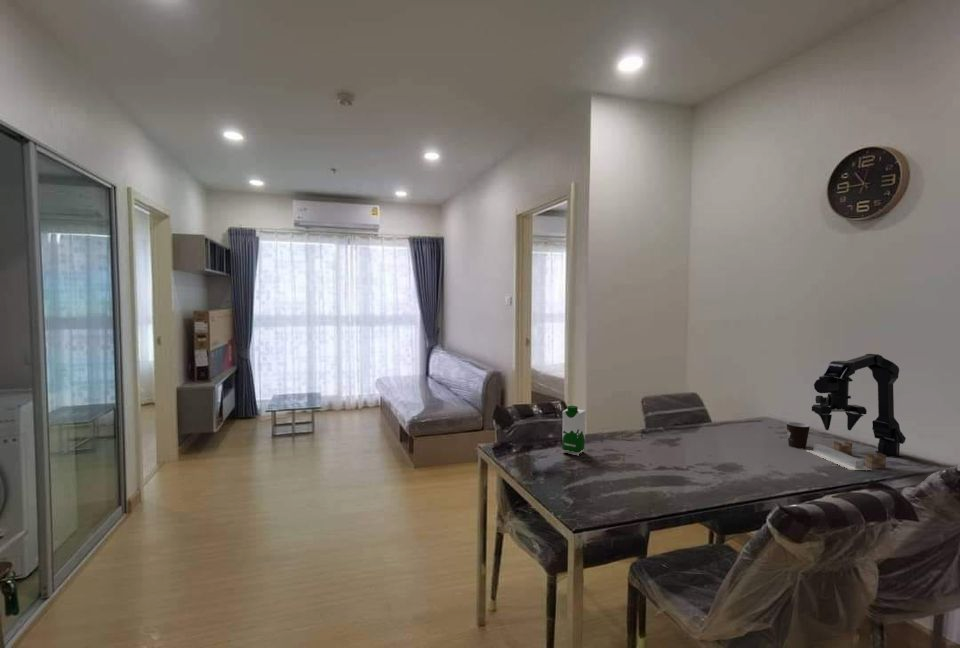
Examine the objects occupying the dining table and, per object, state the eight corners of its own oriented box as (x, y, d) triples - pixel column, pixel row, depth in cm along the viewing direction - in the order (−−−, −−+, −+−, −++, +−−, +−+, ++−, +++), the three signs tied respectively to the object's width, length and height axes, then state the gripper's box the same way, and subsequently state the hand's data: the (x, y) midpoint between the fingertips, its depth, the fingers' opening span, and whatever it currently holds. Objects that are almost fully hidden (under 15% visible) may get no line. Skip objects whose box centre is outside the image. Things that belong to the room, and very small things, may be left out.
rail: (820, 450, 199) (820, 444, 199) (863, 468, 177) (863, 460, 177) (813, 450, 199) (813, 444, 199) (855, 468, 177) (855, 460, 177)
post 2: (878, 465, 181) (879, 452, 181) (885, 468, 178) (886, 455, 178) (865, 465, 181) (865, 452, 181) (871, 468, 178) (872, 455, 178)
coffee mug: (808, 450, 200) (809, 427, 200) (785, 446, 206) (785, 424, 205) (809, 444, 210) (810, 422, 209) (786, 441, 215) (787, 419, 215)
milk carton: (559, 453, 191) (560, 406, 190) (567, 448, 199) (568, 402, 198) (579, 457, 186) (580, 409, 186) (587, 452, 194) (588, 405, 193)
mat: (823, 451, 200) (823, 450, 200) (871, 470, 176) (871, 469, 176) (805, 451, 200) (805, 450, 200) (850, 470, 176) (850, 469, 176)
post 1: (846, 453, 197) (846, 441, 197) (851, 455, 194) (852, 443, 194) (833, 453, 197) (833, 441, 197) (839, 455, 194) (839, 443, 194)
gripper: (845, 389, 195) (844, 425, 196) (802, 388, 195) (801, 425, 196) (868, 393, 184) (866, 432, 185) (822, 393, 184) (821, 432, 185)
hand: (838, 430), depth 188 cm, fingers open, 9 cm apart
